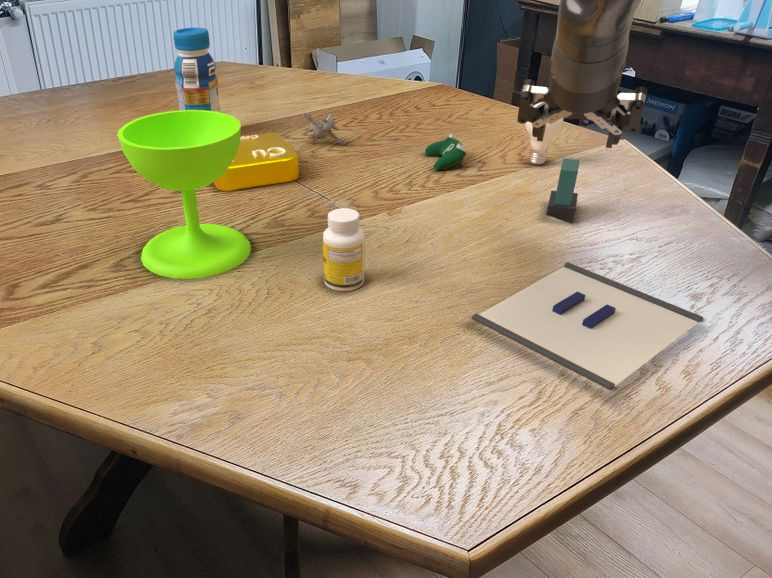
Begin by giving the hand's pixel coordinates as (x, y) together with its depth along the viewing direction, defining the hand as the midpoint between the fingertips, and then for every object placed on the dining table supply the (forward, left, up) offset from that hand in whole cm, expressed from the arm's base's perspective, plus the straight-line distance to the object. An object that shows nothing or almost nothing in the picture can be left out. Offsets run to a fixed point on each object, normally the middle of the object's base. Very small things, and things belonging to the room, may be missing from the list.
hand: (574, 138), depth 89 cm
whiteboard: (+16, +15, -15) cm, 26 cm away
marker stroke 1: (+15, +12, -14) cm, 24 cm away
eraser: (-9, -5, -15) cm, 19 cm away
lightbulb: (-24, -20, -16) cm, 35 cm away
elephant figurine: (-3, -56, -16) cm, 58 cm away
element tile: (+16, -53, -16) cm, 58 cm away
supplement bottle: (+30, -12, -16) cm, 36 cm away
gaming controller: (-13, -32, -16) cm, 38 cm away
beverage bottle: (+11, -77, -16) cm, 79 cm away
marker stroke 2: (+15, +16, -14) cm, 26 cm away
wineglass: (+40, -33, -16) cm, 54 cm away
